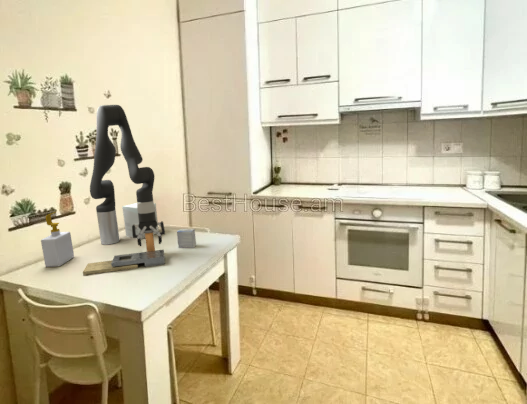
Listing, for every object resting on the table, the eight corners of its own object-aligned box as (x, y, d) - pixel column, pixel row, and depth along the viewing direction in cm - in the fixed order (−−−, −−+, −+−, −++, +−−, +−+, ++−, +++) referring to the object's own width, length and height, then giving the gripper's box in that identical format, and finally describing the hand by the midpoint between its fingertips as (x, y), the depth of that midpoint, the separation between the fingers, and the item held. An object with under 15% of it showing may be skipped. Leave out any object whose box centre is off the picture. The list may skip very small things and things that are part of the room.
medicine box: (196, 245, 174) (195, 228, 172) (193, 248, 169) (192, 231, 168) (181, 245, 174) (179, 228, 173) (178, 248, 170) (176, 231, 168)
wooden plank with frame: (83, 275, 141) (82, 267, 140) (88, 266, 150) (87, 259, 150) (164, 264, 149) (163, 256, 148) (164, 256, 159) (163, 249, 158)
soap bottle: (59, 266, 152) (50, 215, 147) (44, 267, 152) (35, 215, 148) (74, 257, 164) (67, 208, 159) (61, 257, 164) (53, 209, 159)
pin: (146, 253, 164) (143, 229, 162) (156, 252, 165) (153, 228, 163) (146, 256, 160) (143, 231, 158) (156, 255, 161) (153, 230, 159)
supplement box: (159, 232, 199) (156, 203, 196) (140, 239, 188) (137, 207, 185) (144, 230, 206) (141, 201, 203) (125, 236, 195) (121, 206, 192)
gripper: (162, 207, 164) (166, 240, 167) (130, 211, 160) (134, 244, 163) (162, 211, 157) (166, 245, 160) (129, 214, 153) (133, 249, 156)
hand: (150, 244), depth 162 cm, fingers open, 8 cm apart
